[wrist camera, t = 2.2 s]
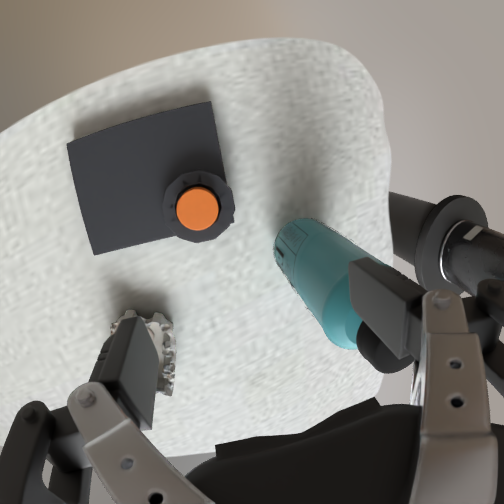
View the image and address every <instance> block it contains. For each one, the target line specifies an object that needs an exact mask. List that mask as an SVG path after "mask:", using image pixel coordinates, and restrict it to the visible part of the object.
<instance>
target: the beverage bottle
mask: <svg viewBox="0 0 504 504" xmlns="http://www.w3.org/2000/svg"><path fill="white" fill-rule="evenodd" d="M314 219H315V218H314ZM322 223H323V222H322ZM323 224H325V223H323ZM323 224H321V223H320V222H318V221H316V220H313V219H312V218H311V219H308V218H303V219H298V220H294V221H292V222H289V223H288V224H287V225H285V226H284V227H283V228H282V229H281V231H280V233H279V234H278V235H277V237H276V239H275V240H276V241H275V242H274V243H275V247H273V250H274V252H273V254H274V256H275V258H276V261H275V262H277V264H278V267H280V268H281V270H282V271H283V272H282V273H283V274H284V275H286V276H287V277H286V276H285V277H286V278H288V279H289V281H290V284H291V286H293V287H294V288H295V289H296V291H297V292H298V293H297V294H299V295H300V297H301V298H302V299H303V301H304V302H305V304H306V305H307V307H308V308H309V310H310V311H311V312H312V313H313V315H314V316H315V317H314V316H313V317H314V318H316V319H317V320H318V322H319V323H320V325H321V326H322V328H323V330H324V332H325V334H326V336H327V337H328V339H329V340H330V341H331V342H332V343H334V344H335V345H337V346H339V347H341V348H344V349H358V350H359V352H360V353H361V354H362V356H363V357H364V358H365V359H366V360H368V361H369V362H370V363H371V364H372V365H373V367H374V368H375V369H376V370H378V371H379V372H382V373H388V374H389V373H395V372H398V371H400V370H402V369H404V368H406V367H407V366H409V365H410V364H411V363H412V362H414V359H415V358H414V357H413V356H412V355H411V354H410V355H408V356H406V357H404V358H402V359H398V358H397V357H396V356H395V355H394V353H393V352H392V351H391V350H390V349H389V348H388V347H387V346H386V345H385V344H384V343H383V341H382V340H381V339H380V338H379V337H378V336H377V335H376V334H375V333H374V332H373V331H372V330H371V328H370V327H369V326H368V325H367V324H366V323H365V322H364V321H363V320H362V319H361V318H360V317H359V316H358V315H357V313H356V312H355V311H354V309H353V307H352V305H351V301H350V290H349V274H348V264H349V262H350V261H353V260H357V259H360V258H363V257H369V258H371V259H373V260H374V261H376V262H377V263H379V264H380V265H385V266H388V267H391V266H389V265H387V264H384V263H383V262H381V261H380V260H378V259H377V258H375V257H374V256H372V255H370V254H369V253H367V252H366V251H364V250H363V249H361V248H360V247H358V246H356V245H355V244H353V243H352V242H351V241H349V240H348V239H346V238H345V237H346V236H345V237H343V236H344V235H343V236H342V235H340V234H338V233H339V232H338V231H337V232H338V233H337V232H336V230H335V231H333V230H334V229H333V228H332V229H333V230H332V229H330V228H331V227H330V228H328V227H329V226H328V227H327V225H326V226H325V225H323ZM350 240H351V239H350ZM353 242H354V241H353ZM288 279H287V280H288ZM293 287H292V288H293ZM294 288H293V289H294ZM294 291H295V290H294ZM308 308H307V309H308ZM309 313H310V312H309Z"/></svg>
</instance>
